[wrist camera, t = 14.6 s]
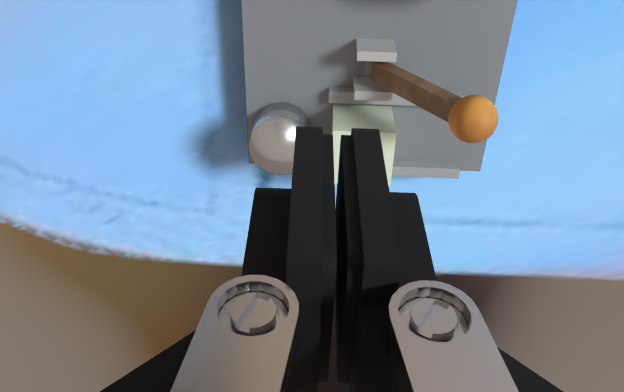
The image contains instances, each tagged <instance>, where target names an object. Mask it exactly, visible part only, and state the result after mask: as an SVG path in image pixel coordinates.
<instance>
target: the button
mask: <svg viewBox="0 0 624 392" xmlns="http://www.w3.org/2000/svg"><path fill="white" fill-rule="evenodd" d="M296 126H307V127H311V126H310V122H309V119H308V117H307V115H306V114H305V113H304V111H303V110H301V109H300V108H299V107H297V106H295V105H293V104H291V103H286V102H276V103H272V104H269V105H267V106H265V107H264V108H263V109H262V110H261V111H260V112H259V113H258V114H257V116H256V119H255V122H254V126H253V130H252V134H251V138H250V142H249V152H250V155H251V157H252V159H253V161H254V162H255V163H256V165H258V166H259V167H260V168H261V169H263V170H264V171H267V172H269V173H273V174H288V173H292V172H293V162H294V148H295V134H296Z"/></svg>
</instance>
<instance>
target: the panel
mask: <svg viewBox="0 0 624 392" xmlns="http://www.w3.org/2000/svg"><path fill="white" fill-rule="evenodd" d="M241 3H242V24H243V46H244V67H245V89H246V111H247V132H248V154H249V163H255V162H254V161H253V159H252V157H251V155H250V152H249V142H250V138H251V134H252V130H253V126H254V122H255V119H256V116H257V114H258V113H259V112H260V111H261V110H262V109H263V108H264V107H265V106H267V105H269V104H272V103H276V102H286V103H291V104H293V105H295V106H297V107H299V108H300V109H301V110H303V111H304V113H305V114H306V115H307V117H308V119H309V122H310V126H311V127H323V134H332V116H333V104H354V105H384V106H391V107H392V112H393V117H394V122H395V127H396V132H397V134H396V143H395V151H394V160H393V168H392V176H404V177H432V178H458V177H459V172H460V170H462V171H480V169H481V164H482V159H483V155H484V150H485V146H486V141H487V139H486V140H484V141H482V142H479V143H466V142H463V141H461V140H459V139H458V138H456V137H455V136H454V135H453V133H452V132H451V130H450V127H449V123H448V122H446V121H444V120H443V119H441V118H439V117H437V116H435V115H433V114H431V113H430V112H428V111H426V110H424V109H422V108H420V107H418V106H417V105H415V104H413V103H411V102H409V101H407V100H405V99H404V98H402V97H400V96H398V95H396V94H394V93H392V92H391V91H389V90H387V89H385V88H383V87H381V86H379V85H378V84H376V83H374V82H372V80H370V79H367V78H366V73H367V61H376V62H390V63H392V64H394V65H396V66H398V67H400V68H402V69H404V70H406V71H408V72H410V73H412V74H414V75H417V76H419V77H421V78H423V79H425V80H427V81H429V82H431V83H433V84H435V85H437V86H439V87H441V88H443V89H445V90H447V91H449V92H452V93H454V94H456V95H458V96H460V97H462V98H463V97H465V96H468V95H480V96H483V97H485V98H487V99H489V100H490V101H491V102H492V103H493V104H494V105H495V100H496V96H497V91H498V87H499V82H500V77H501V73H502V68H503V64H504V59H505V55H506V50H507V45H508V41H509V36H510V32H511V27H512V23H513V18H514V14H515V9H516V4H517V0H241Z"/></svg>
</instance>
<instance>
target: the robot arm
mask: <svg viewBox="0 0 624 392" xmlns="http://www.w3.org/2000/svg"><path fill="white" fill-rule="evenodd" d="M334 305H335V306H334ZM333 308H335V349H336V383H337V384H347V390H348V392H563V391H561V390H560V389H558V388H557V387H555V386H554V385H552V384H551V383H549V382H548V381H547V380H545V379H543V378H542V377H541V376H539V375H538V374H536V373H534V372H533V371H532V370H530V369H529V368H527V367H526V366H524V365H523V364H521V363H520V362H518V361H517V360H515V359H514V358H512V357H511V356H510V355H508V354H507V353H505V352H504V351H502V350H501V349H499V348H498V347H497V346H496V344H495V342H494V340H493V338H492V336H491V334H490V332H489V330H488V328H487V325H486V323H485V321H484V319H483V317H482V315H481V313H480V311H479V309H478V308H477V306H476V305H475V304H474V302H473V301H472V299H470V298H469V297H468V296H467V295H466V294H465V293H463V292H462V291H461V290H459V289H457V288H455V287H453V286H451V285H449V284H445V283H442V282H438V281H436V276H435V272H434V267H433V263H432V258H431V254H430V249H429V245H428V241H427V236H426V232H425V227H424V223H423V218H422V214H421V210H420V205H419V201H418V197H417V195H416V194H415V193H398V192H389V187H388V180H387V174H386V168H385V162H384V156H383V149H382V143H381V137H380V131H379V129H364V128H352V130H351V135H341V141H340V154H339V168H338V182H337V196H336V209H335V183H334V151H333V134H323V127H307V126H296V134H295V148H294V162H293V175H292V189H281V188H256V189H255V193H254V200H253V206H252V212H251V218H250V225H249V231H248V237H247V244H246V250H245V256H244V263H243V269H242V275H241V277H236V278H234V279H232V280H230V281H227V282H225V283H224V284H222V285H221V286H220V287H219V288H218V289H217V290H215V291H214V293H213V294H212V296H211V297H210V299H209V300H208V303H207V305H206V307H205V310H204V312H203V315H202V317H201V319H200V322H199V324H198V327H197V329H196V331H194V332H192V333H191V334H189V335H188V336H186V337H185V338H183V339H182V340H180V341H178V342H177V343H175V344H174V345H172V346H171V347H169V348H167V349H166V350H164V351H163V352H161V353H160V354H158V355H156V356H155V357H153V358H152V359H150V360H149V361H147V362H145V363H144V364H142V365H141V366H139V367H138V368H136V369H135V370H133V371H132V372H130V373H128V374H127V375H125V376H124V377H122V378H121V379H119V380H117V381H116V382H114V383H113V384H111V385H110V386H108V387H107V388H105V389H103V390H102V391H100V392H317V383H319V384H327V382H328V370H329V357H330V346H331V333H332V321H333Z"/></svg>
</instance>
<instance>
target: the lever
mask: <svg viewBox="0 0 624 392" xmlns="http://www.w3.org/2000/svg"><path fill="white" fill-rule="evenodd" d="M366 78H367V79H370V80H372V82H374V83H376V84H378V85H379V86H381V87H383V88H385V89H387V90H389V91H391V92H392V93H394V94H396V95H398V96H400V97H402V98H404V99H405V100H407V101H409V102H411V103H413V104H415V105H417V106H418V107H420V108H422V109H424V110H426V111H428V112H430V113H431V114H433V115H435V116H437V117H439V118H441V119H443V120H444V121H446V122H448V123H449V127H450V130H451V132H452V133H453V135H454V136H455V137H456V138H458V139H459V140H461V141H463V142H466V143H479V142H482V141H484V140H486V139H487V138H489V137H490V136H491V135H492V134H493V132H494V131H495V129H496V127H497V124H498V113H497V110H496V107H495V106H494V104H493V103H492V102H491V101H490V100H489V99H487V98H485V97H483V96H480V95H468V96H465V97H463V98H462V97H460V96H458V95H456V94H454V93H452V92H449V91H447V90H445V89H443V88H441V87H439V86H437V85H435V84H433V83H431V82H429V81H427V80H425V79H423V78H421V77H419V76H417V75H414V74H412V73H410V72H408V71H406V70H404V69H402V68H400V67H398V66H396V65H394V64H392V63H390V62H376V61H367V73H366Z"/></svg>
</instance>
